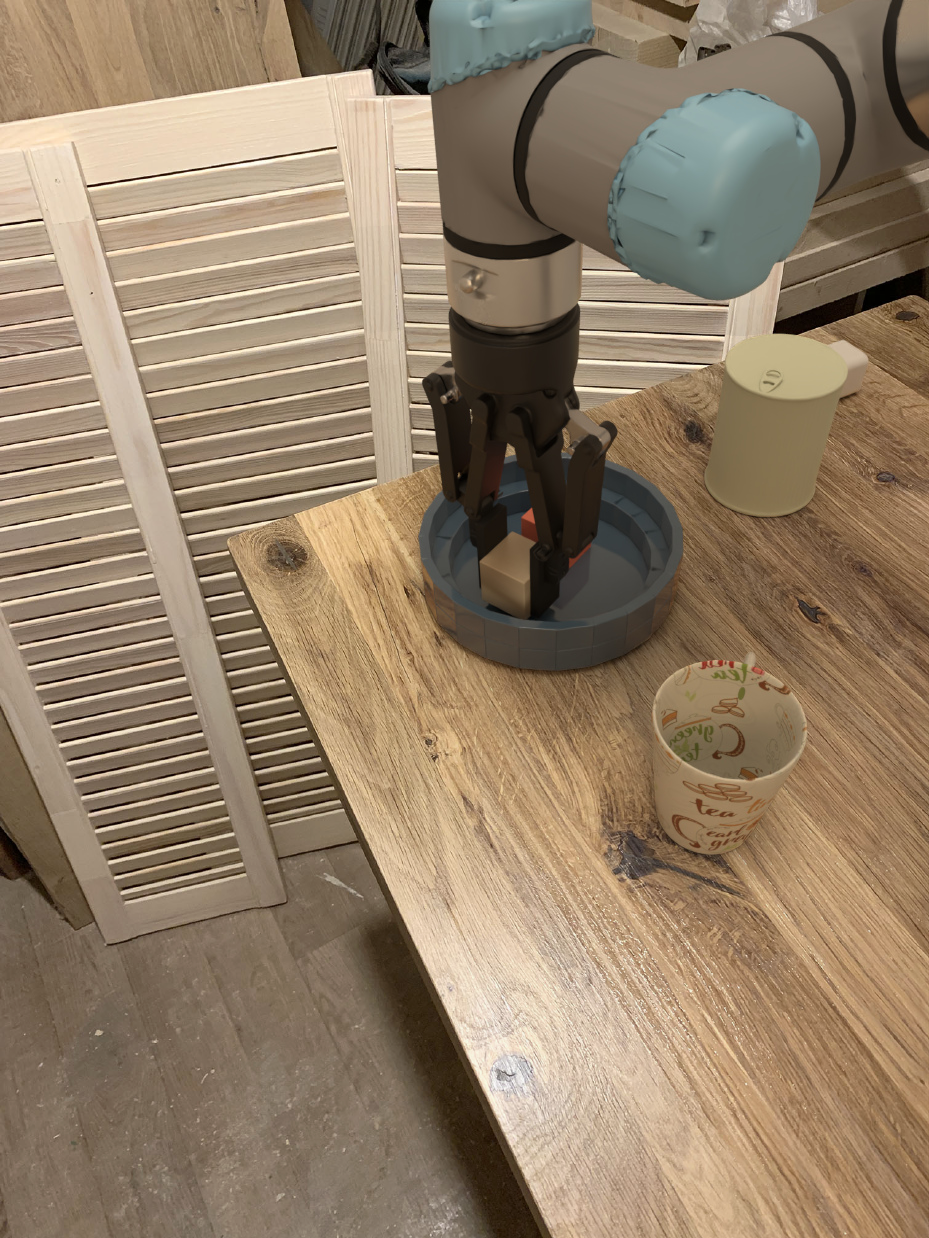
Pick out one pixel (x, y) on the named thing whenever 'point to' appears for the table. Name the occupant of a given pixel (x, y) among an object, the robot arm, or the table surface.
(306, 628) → the table surface
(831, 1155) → the table surface
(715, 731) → the mug
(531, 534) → the coral block
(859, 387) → the usb wall charger
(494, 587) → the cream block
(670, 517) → the bowl
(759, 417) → the can
